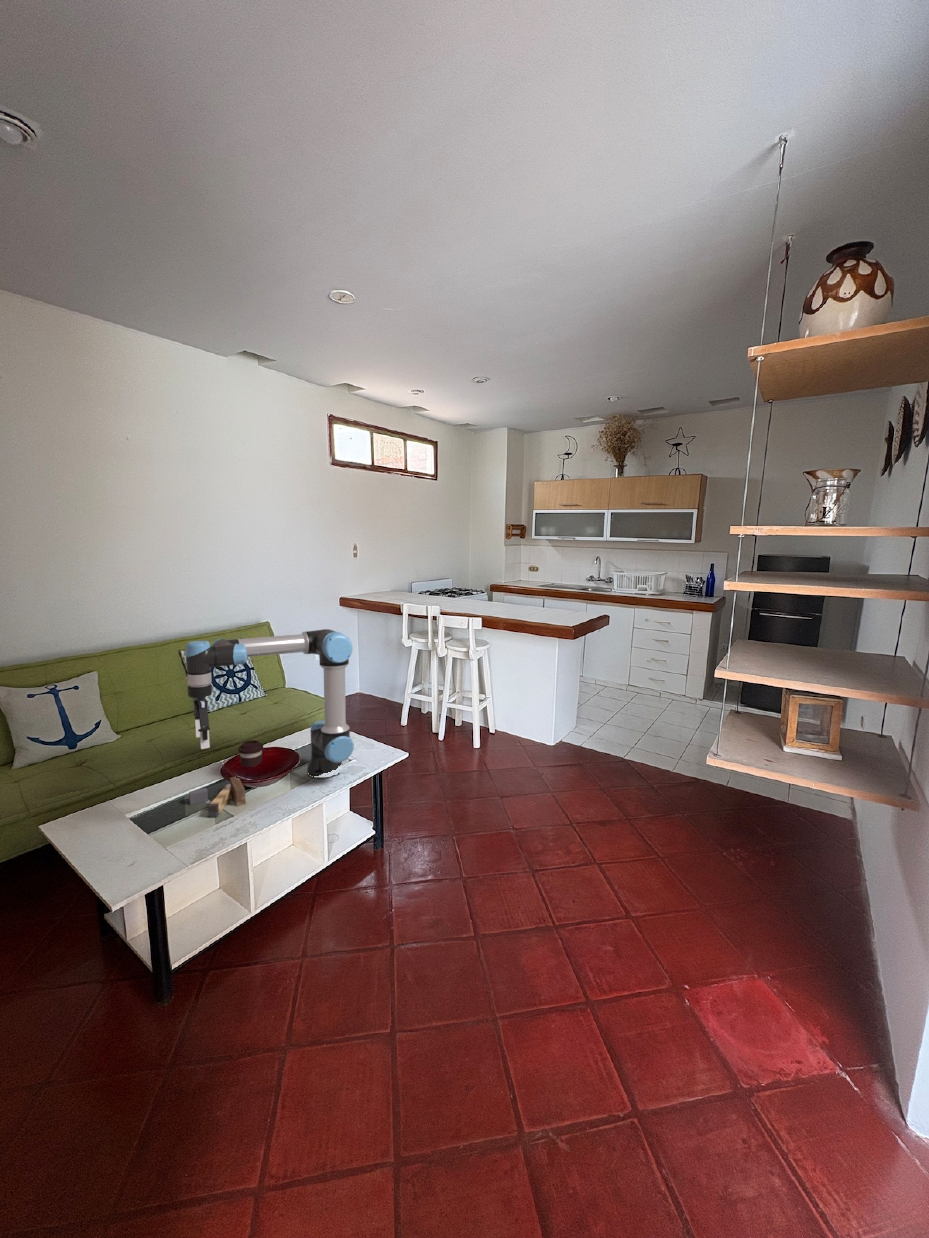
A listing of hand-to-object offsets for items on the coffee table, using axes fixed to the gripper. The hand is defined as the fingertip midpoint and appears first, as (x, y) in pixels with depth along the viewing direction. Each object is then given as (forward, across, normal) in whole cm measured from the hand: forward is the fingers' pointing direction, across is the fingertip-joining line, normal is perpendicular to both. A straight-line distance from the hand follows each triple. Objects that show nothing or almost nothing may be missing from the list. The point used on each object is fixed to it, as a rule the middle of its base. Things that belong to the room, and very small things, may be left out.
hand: (202, 742), depth 177 cm
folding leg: (+28, -4, +6) cm, 29 cm away
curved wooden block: (+28, -8, +12) cm, 32 cm away
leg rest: (+28, -14, -1) cm, 31 cm away
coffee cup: (+28, -26, +21) cm, 44 cm away
